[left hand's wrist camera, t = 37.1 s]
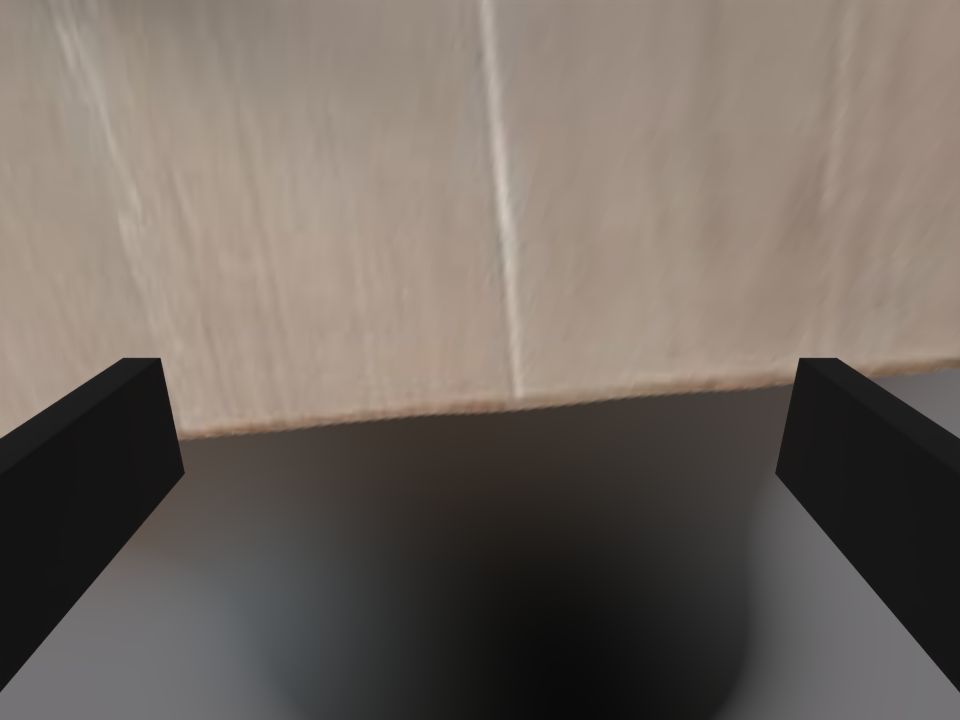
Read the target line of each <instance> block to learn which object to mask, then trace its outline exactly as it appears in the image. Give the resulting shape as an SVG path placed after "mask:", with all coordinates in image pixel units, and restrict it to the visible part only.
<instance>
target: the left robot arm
mask: <svg viewBox="0 0 960 720" xmlns="http://www.w3.org/2000/svg"><path fill="white" fill-rule="evenodd" d="M184 474H185V472H184V467H183V462H182V458H181V453H180V448H179V443H178V439H177V434H176V429H175V424H174V420H173V415H172V410H171V405H170V401H169V396H168V391H167V386H166V382H165V377H164V372H163V367H162V363H161V358H122V359H121V360H119V361H118V362H116V363H115V364H113V365H112V366H110V367H109V368H107V369H106V370H104V371H103V372H101V373H100V374H98V375H96V376H95V377H93V378H92V379H90V380H89V381H87V382H86V383H84V384H83V385H81V386H80V387H78V388H77V389H75V390H74V391H72V392H71V393H69V394H68V395H66V396H65V397H63V398H62V399H60V400H58V401H57V402H55V403H54V404H52V405H51V406H49V407H48V408H46V409H45V410H43V411H42V412H40V413H39V414H37V415H36V416H34V417H33V418H31V419H30V420H28V421H27V422H25V423H24V424H22V425H20V426H19V427H17V428H16V429H14V430H13V431H11V432H10V433H8V434H7V435H5V436H4V437H2V438H1V439H0V692H1V691H2V690H3V688H4V687H5V686H6V685H7V684H8V683H9V681H10V680H11V679H12V678H13V677H14V675H15V674H16V673H17V672H18V671H19V669H20V668H21V667H22V666H23V665H24V664H25V662H26V661H27V660H28V659H29V658H30V656H31V655H32V654H33V653H34V652H35V651H36V649H37V648H38V647H39V646H40V645H41V643H42V642H43V641H44V640H45V639H46V637H47V636H48V635H49V634H50V633H51V632H52V630H53V629H54V628H55V627H56V626H57V624H58V623H59V622H60V621H61V620H62V618H63V617H64V616H65V615H66V614H67V613H68V611H69V610H70V609H71V608H72V607H73V605H74V604H75V603H76V602H77V601H78V599H79V598H80V597H81V596H82V595H83V593H84V592H85V591H86V590H87V589H88V588H89V586H90V585H91V584H92V583H93V582H94V581H95V579H96V578H97V577H98V576H99V575H100V573H101V572H102V571H103V570H104V569H105V567H106V566H107V565H108V564H109V563H110V562H111V560H112V559H113V558H114V557H115V556H116V554H117V553H118V552H119V551H120V550H121V548H122V547H123V546H124V545H125V544H126V543H127V541H128V540H129V539H130V538H131V537H132V535H133V534H134V533H135V532H136V531H137V530H138V528H139V527H140V526H141V525H142V524H143V522H144V521H145V520H146V519H147V518H148V516H149V515H150V514H151V513H152V512H153V511H154V509H155V508H156V507H157V506H158V505H159V503H160V502H161V501H162V500H163V499H164V498H165V496H166V495H167V494H168V493H169V492H170V490H171V489H172V488H173V487H174V486H175V484H176V483H177V482H178V481H179V480H180V479H181V477H182V476H183V475H184ZM775 474H776V475H777V476H778V477H779V479H780V480H781V481H782V482H783V483H784V484H785V486H786V487H787V488H788V489H789V490H790V491H791V493H792V494H793V495H794V496H795V497H796V499H797V500H798V501H799V502H800V503H801V505H802V506H803V507H804V508H805V509H806V511H807V512H808V513H809V514H810V515H811V516H812V518H813V519H814V520H815V521H816V522H817V524H818V525H819V526H820V527H821V528H822V530H823V531H824V532H825V533H826V534H827V535H828V537H829V538H830V539H831V540H832V541H833V542H834V544H835V545H836V546H837V547H838V548H839V550H840V551H841V552H842V553H843V554H844V556H845V557H846V558H847V559H848V560H849V562H850V563H851V564H852V565H853V566H854V567H855V569H856V570H857V571H858V572H859V573H860V575H861V576H862V577H863V578H864V579H865V580H866V582H867V583H868V584H869V585H870V586H871V588H872V589H873V590H874V591H875V592H876V594H877V595H878V596H879V597H880V598H881V600H882V601H883V602H884V603H885V604H886V605H887V607H888V608H889V609H890V610H891V611H892V613H893V614H894V615H895V616H896V617H897V618H898V620H899V621H900V622H901V623H902V624H903V626H904V627H905V628H906V629H907V630H908V632H909V633H910V634H911V635H912V636H913V637H914V639H915V640H916V641H917V642H918V643H919V645H920V646H921V647H922V648H923V649H924V650H925V652H926V653H927V654H928V655H929V656H930V658H931V659H932V660H933V661H934V662H935V664H936V665H937V666H938V667H939V668H940V670H941V671H942V672H943V673H944V674H945V675H946V677H947V678H948V679H949V680H950V681H951V683H952V684H953V685H954V686H955V687H956V688H957V690H958V691H959V692H960V439H959V438H958V437H956V436H955V435H953V434H952V433H950V432H949V431H947V430H946V429H944V428H943V427H941V426H940V425H938V424H936V423H935V422H933V421H932V420H930V419H929V418H927V417H926V416H924V415H923V414H921V413H920V412H918V411H917V410H915V409H914V408H912V407H911V406H909V405H908V404H906V403H905V402H903V401H902V400H900V399H898V398H897V397H895V396H894V395H892V394H891V393H889V392H888V391H886V390H885V389H883V388H882V387H880V386H879V385H877V384H876V383H874V382H873V381H871V380H870V379H868V378H867V377H865V376H864V375H862V374H860V373H859V372H857V371H856V370H854V369H853V368H851V367H850V366H848V365H847V364H845V363H844V362H842V361H841V360H839V359H838V358H799V363H798V367H797V372H796V377H795V382H794V386H793V391H792V396H791V401H790V406H789V410H788V415H787V420H786V424H785V429H784V434H783V439H782V443H781V448H780V453H779V458H778V463H777V468H776V472H775Z"/></svg>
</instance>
